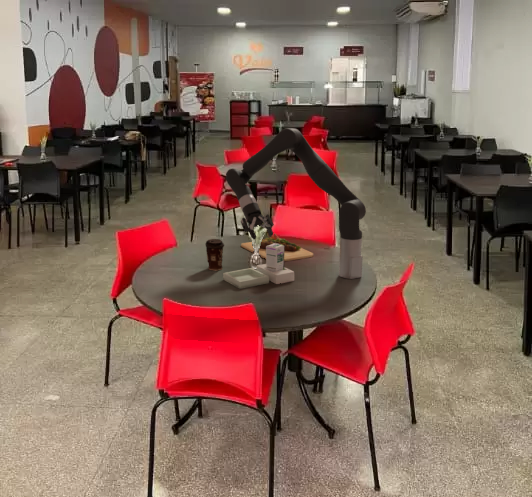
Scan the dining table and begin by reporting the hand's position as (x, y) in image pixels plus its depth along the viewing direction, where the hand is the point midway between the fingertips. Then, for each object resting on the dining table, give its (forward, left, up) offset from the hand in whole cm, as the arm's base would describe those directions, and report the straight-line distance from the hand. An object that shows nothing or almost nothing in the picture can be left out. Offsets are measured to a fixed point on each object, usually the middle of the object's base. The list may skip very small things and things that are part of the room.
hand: (263, 237), depth 284 cm
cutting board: (+25, -24, -17) cm, 39 cm away
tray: (-8, +14, -16) cm, 22 cm away
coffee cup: (+15, +16, -16) cm, 27 cm away
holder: (-10, 0, -16) cm, 19 cm away
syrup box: (-10, 0, -16) cm, 19 cm away
